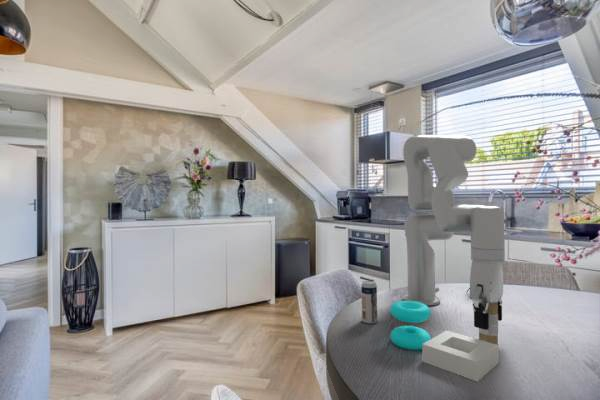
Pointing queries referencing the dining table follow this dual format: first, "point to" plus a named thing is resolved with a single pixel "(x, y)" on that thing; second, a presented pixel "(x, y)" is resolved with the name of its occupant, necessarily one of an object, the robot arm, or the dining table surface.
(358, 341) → the dining table surface
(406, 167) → the robot arm
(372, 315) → the beer can
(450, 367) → the socket block
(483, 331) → the sprinkles bottle
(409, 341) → the donuts
